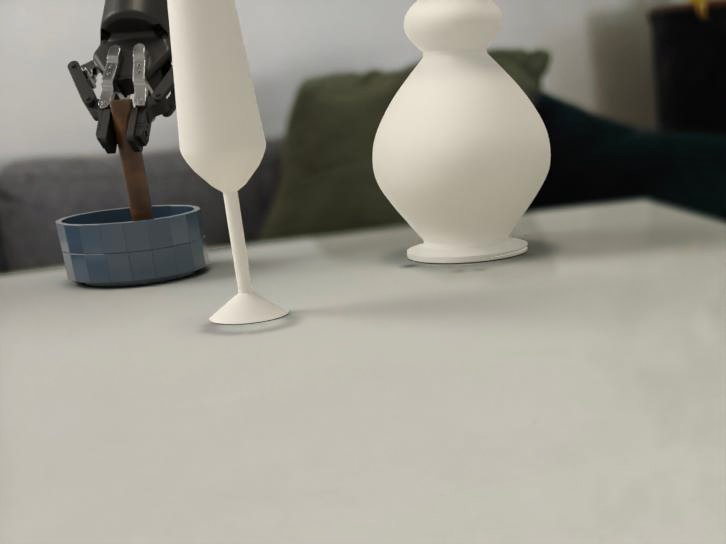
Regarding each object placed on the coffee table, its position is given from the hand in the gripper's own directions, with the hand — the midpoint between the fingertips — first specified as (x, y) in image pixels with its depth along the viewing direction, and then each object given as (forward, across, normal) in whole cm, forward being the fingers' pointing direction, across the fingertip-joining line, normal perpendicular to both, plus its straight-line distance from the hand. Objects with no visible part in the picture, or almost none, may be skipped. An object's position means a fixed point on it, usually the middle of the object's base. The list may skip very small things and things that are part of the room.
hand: (121, 146), depth 110 cm
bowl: (+8, -1, +9) cm, 12 cm away
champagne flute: (+24, +18, -6) cm, 31 cm away
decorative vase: (+4, +33, +13) cm, 36 cm away
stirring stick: (+6, 0, +8) cm, 10 cm away
